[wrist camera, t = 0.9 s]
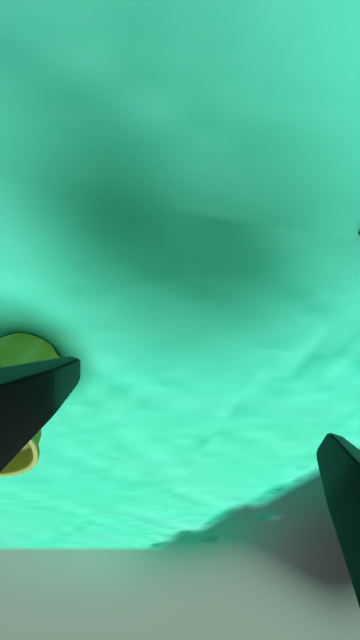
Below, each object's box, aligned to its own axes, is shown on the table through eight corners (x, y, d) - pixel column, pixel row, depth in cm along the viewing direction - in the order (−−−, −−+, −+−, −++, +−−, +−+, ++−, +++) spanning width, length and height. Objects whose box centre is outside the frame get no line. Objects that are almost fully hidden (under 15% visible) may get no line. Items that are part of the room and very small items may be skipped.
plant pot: (92, 340, 23) (47, 428, 16) (69, 400, 28) (27, 488, 21) (-19, 299, 21) (-128, 378, 14) (-23, 371, 26) (-105, 457, 19)
